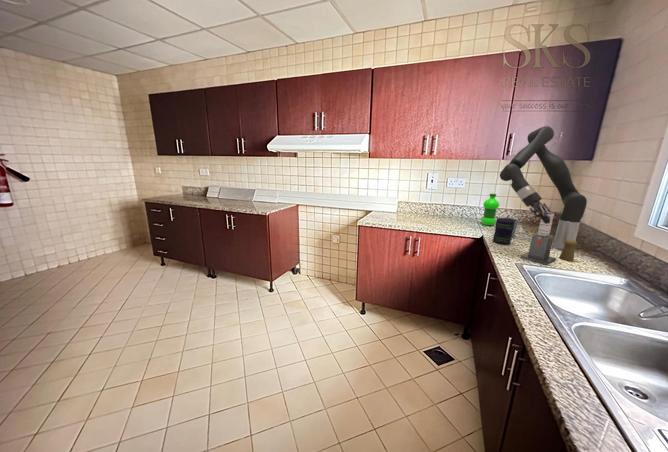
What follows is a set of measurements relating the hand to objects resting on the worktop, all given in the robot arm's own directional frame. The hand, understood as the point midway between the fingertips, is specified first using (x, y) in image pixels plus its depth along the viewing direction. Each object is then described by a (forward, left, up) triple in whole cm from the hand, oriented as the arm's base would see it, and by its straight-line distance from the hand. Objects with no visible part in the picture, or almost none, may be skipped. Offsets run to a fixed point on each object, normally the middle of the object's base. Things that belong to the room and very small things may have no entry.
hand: (550, 221), depth 133 cm
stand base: (0, -2, -21) cm, 21 cm away
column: (0, -2, -15) cm, 15 cm away
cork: (-15, +3, -21) cm, 26 cm away
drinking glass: (-24, -38, -21) cm, 49 cm away
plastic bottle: (-37, -64, -21) cm, 77 cm away
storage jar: (-7, -29, -21) cm, 36 cm away
